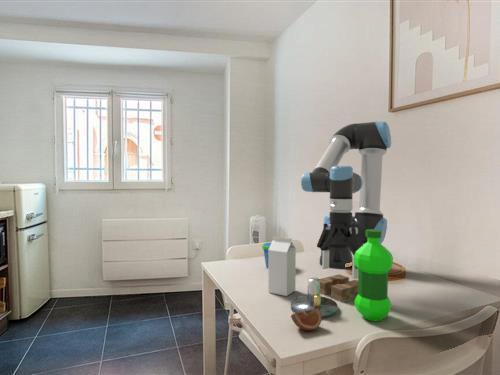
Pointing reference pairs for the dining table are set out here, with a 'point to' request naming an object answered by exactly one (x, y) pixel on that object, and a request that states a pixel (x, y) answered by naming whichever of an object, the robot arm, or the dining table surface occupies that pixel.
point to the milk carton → (281, 266)
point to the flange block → (339, 287)
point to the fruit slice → (307, 319)
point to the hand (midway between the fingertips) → (340, 273)
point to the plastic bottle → (373, 277)
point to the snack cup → (266, 252)
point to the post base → (304, 306)
